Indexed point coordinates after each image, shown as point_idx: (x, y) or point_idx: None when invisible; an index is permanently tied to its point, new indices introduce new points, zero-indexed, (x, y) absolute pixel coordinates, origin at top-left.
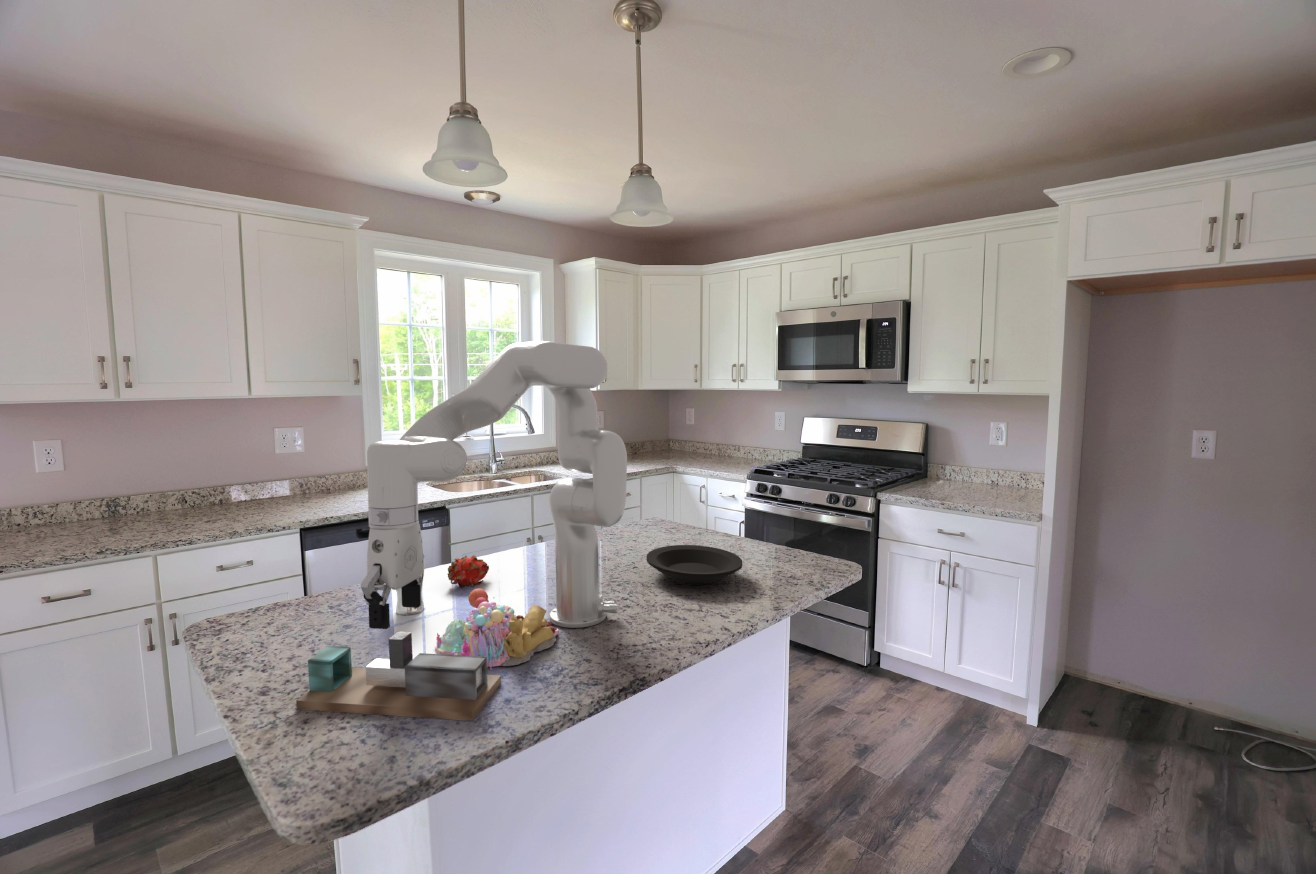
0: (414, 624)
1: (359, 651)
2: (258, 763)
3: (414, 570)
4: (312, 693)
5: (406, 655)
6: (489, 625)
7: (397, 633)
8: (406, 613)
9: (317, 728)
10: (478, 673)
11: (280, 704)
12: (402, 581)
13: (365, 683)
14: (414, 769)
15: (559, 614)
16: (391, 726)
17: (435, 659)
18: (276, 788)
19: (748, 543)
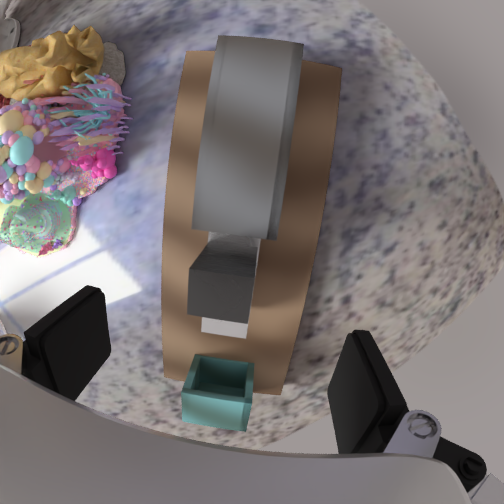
0: (16, 311)
1: None
2: (408, 357)
3: (44, 484)
4: (258, 385)
5: (237, 253)
6: (32, 127)
7: (200, 312)
8: (3, 330)
9: (341, 336)
10: None
11: (263, 406)
12: (356, 500)
13: None
14: (456, 145)
15: None
16: (351, 219)
17: (233, 166)
18: (458, 308)
19: None
